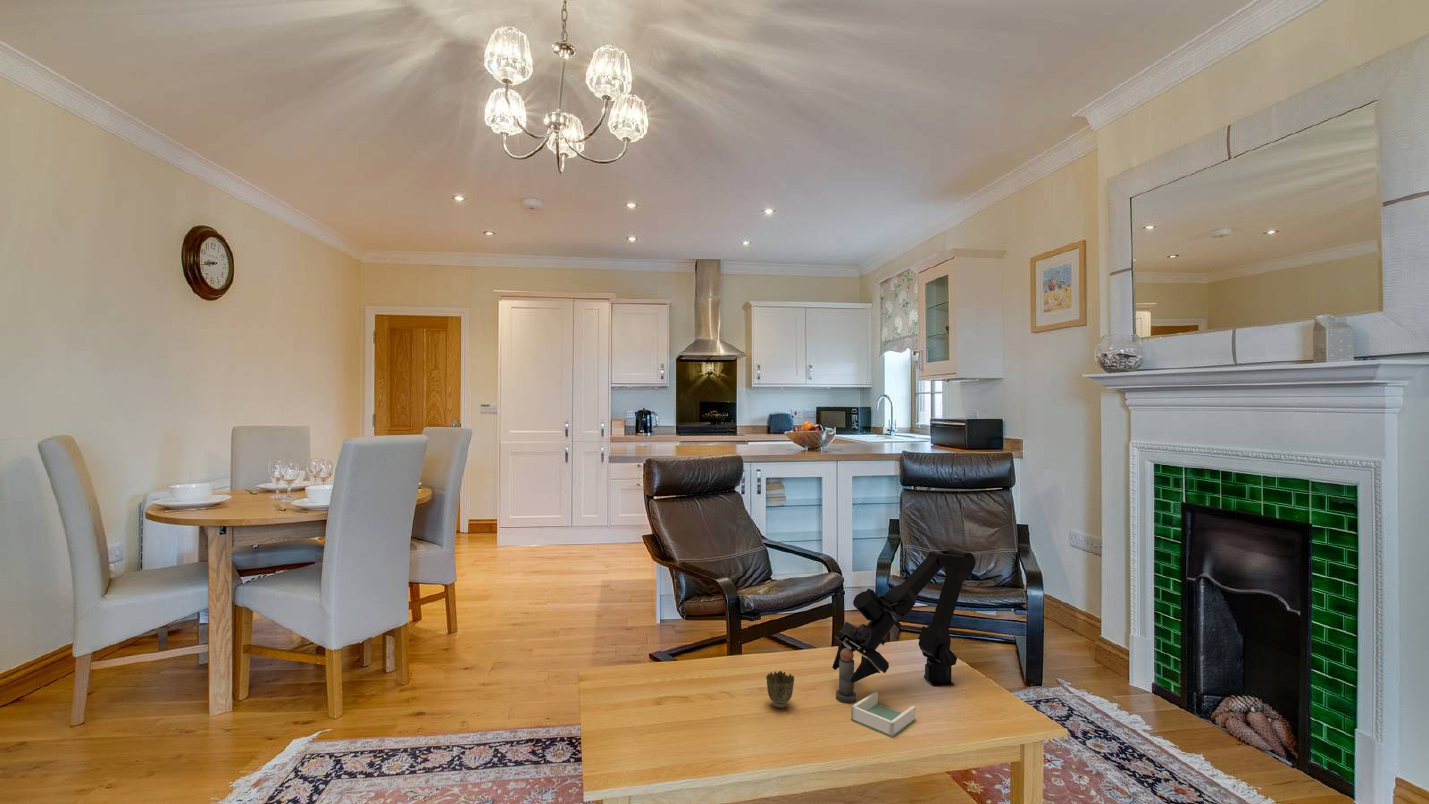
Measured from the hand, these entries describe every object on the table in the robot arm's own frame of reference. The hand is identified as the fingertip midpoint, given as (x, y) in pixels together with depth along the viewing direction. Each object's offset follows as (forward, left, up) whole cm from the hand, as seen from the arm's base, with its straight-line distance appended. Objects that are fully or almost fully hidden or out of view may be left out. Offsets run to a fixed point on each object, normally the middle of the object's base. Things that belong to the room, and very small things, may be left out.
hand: (842, 675), depth 171 cm
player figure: (-1, 0, -7) cm, 7 cm away
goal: (-7, +12, -7) cm, 15 cm away
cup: (+18, +3, -7) cm, 19 cm away
